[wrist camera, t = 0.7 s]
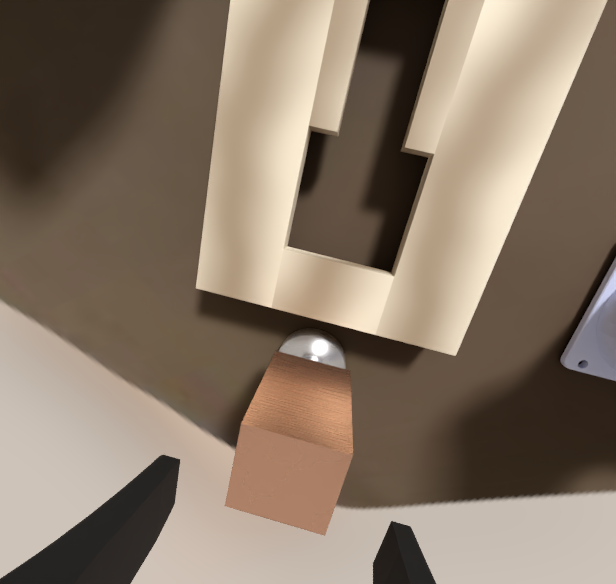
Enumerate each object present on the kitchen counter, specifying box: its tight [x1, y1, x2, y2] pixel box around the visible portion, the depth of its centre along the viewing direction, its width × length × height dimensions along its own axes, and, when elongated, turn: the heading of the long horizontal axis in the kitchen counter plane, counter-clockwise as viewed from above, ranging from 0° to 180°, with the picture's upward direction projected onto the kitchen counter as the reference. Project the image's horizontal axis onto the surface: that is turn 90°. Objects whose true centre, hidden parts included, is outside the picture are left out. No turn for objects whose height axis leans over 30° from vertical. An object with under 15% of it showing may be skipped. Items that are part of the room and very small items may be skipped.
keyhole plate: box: [196, 0, 607, 356], centre depth 14 cm, size 14×20×3 cm
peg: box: [225, 328, 353, 535], centre depth 15 cm, size 4×4×9 cm
